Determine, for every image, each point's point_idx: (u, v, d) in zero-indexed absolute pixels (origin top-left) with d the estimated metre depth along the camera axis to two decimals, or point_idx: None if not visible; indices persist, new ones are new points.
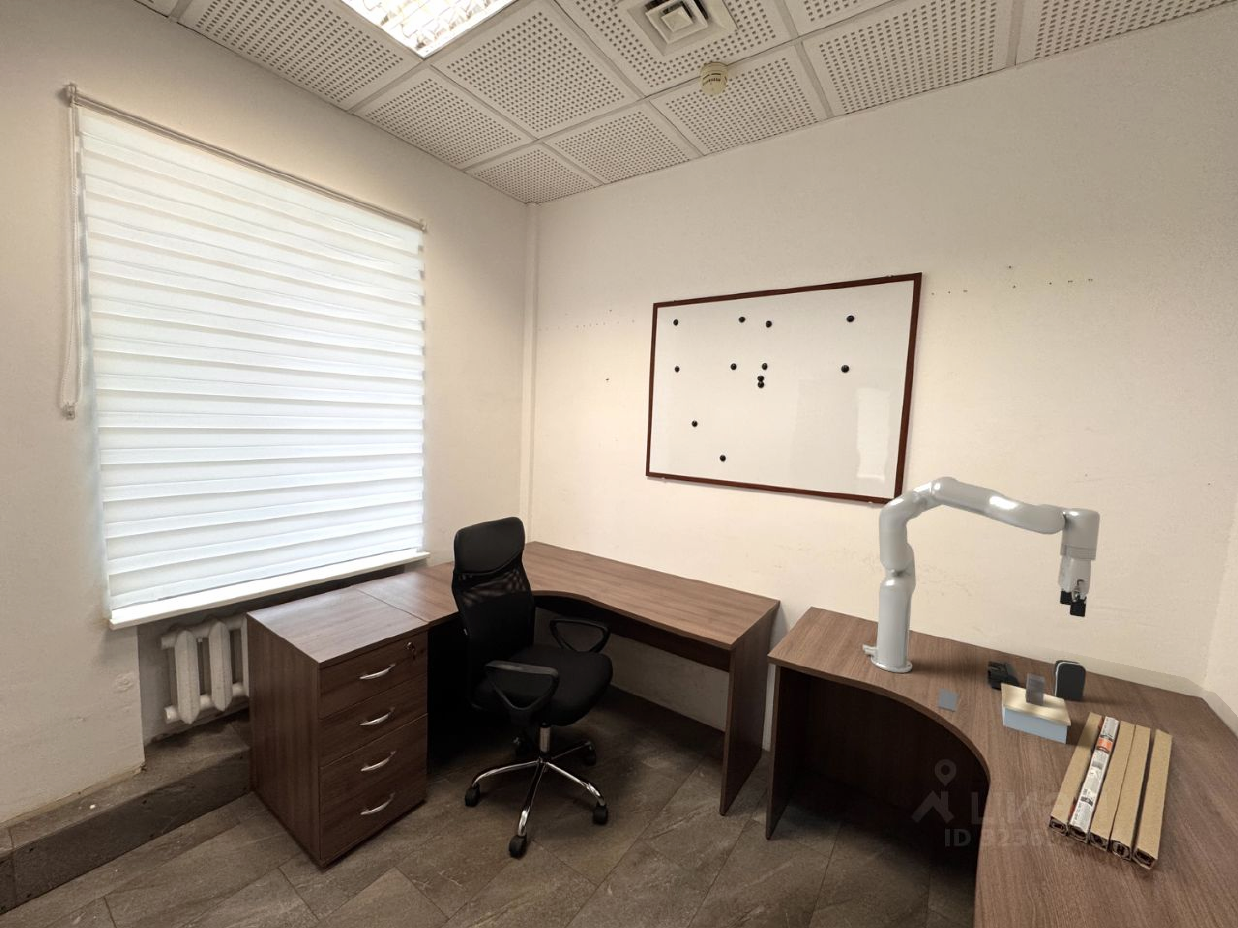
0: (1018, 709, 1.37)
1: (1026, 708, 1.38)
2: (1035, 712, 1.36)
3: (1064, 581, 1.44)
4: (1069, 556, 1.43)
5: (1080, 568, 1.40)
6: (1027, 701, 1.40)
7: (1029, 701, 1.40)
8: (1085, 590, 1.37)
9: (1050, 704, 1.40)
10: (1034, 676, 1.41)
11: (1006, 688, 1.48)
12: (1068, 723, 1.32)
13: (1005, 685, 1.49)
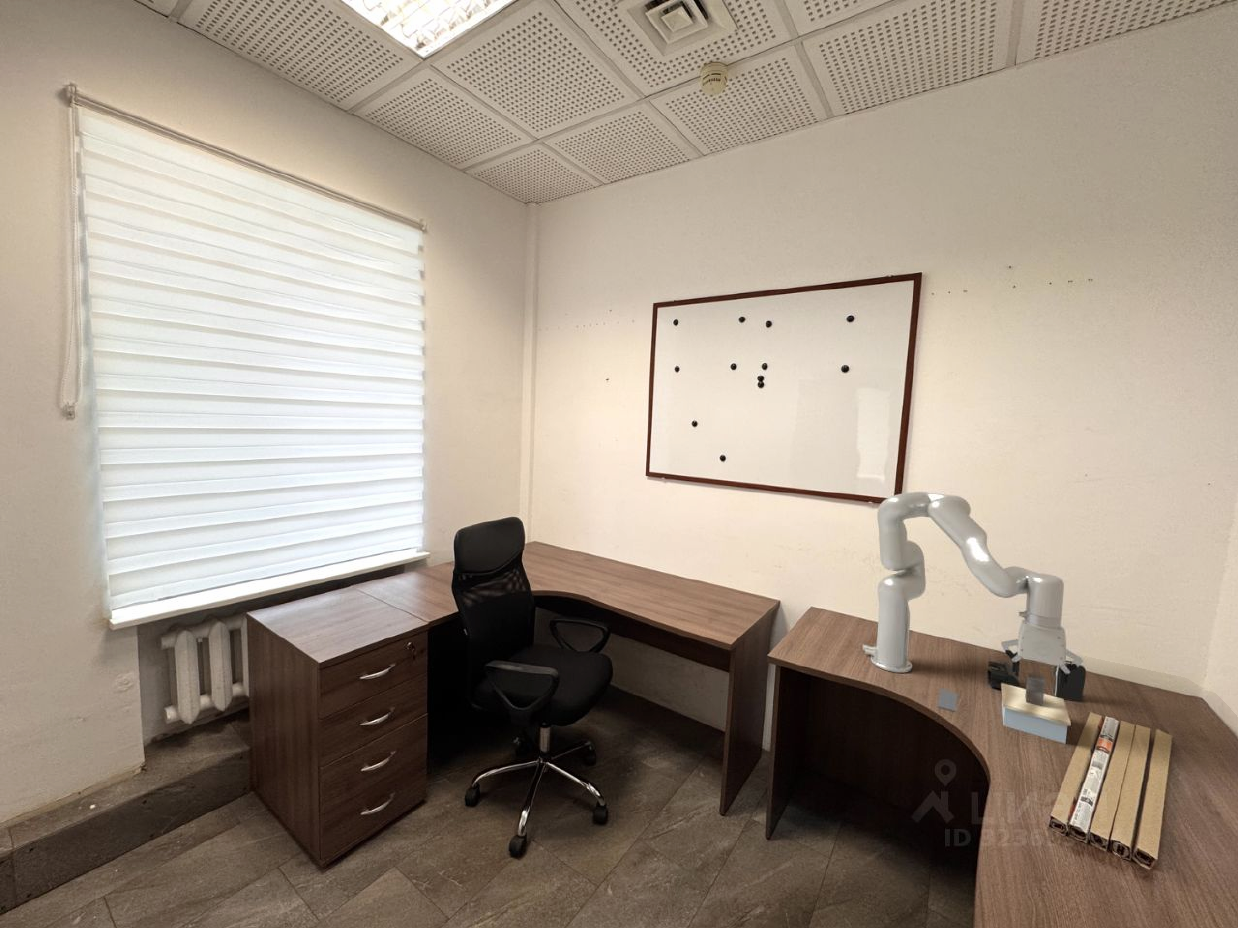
0: (1018, 709, 1.37)
1: (1026, 708, 1.38)
2: (1035, 712, 1.36)
3: (1052, 655, 1.36)
4: (1057, 628, 1.35)
5: None
6: (1027, 701, 1.40)
7: (1029, 701, 1.40)
8: (1081, 658, 1.35)
9: (1050, 704, 1.40)
10: (1034, 676, 1.41)
11: (1006, 688, 1.48)
12: (1068, 723, 1.32)
13: (1005, 685, 1.49)
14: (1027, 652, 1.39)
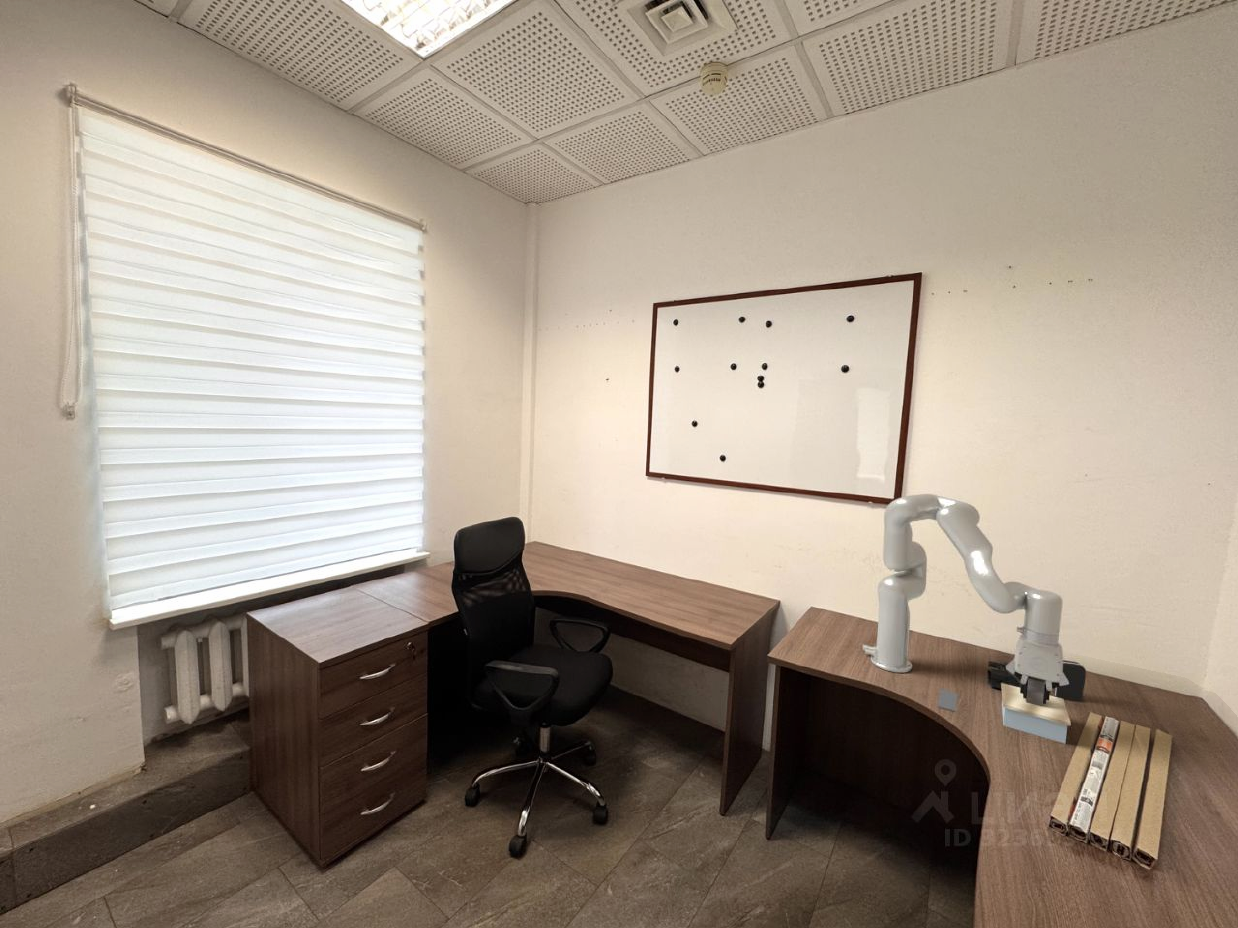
0: (1018, 709, 1.37)
1: (1026, 708, 1.38)
2: (1035, 712, 1.36)
3: (1049, 671, 1.36)
4: (1054, 645, 1.36)
5: None
6: (1027, 701, 1.40)
7: (1029, 701, 1.40)
8: None
9: (1050, 704, 1.40)
10: None
11: (1006, 688, 1.48)
12: (1068, 723, 1.32)
13: (1005, 685, 1.49)
14: (1024, 668, 1.39)
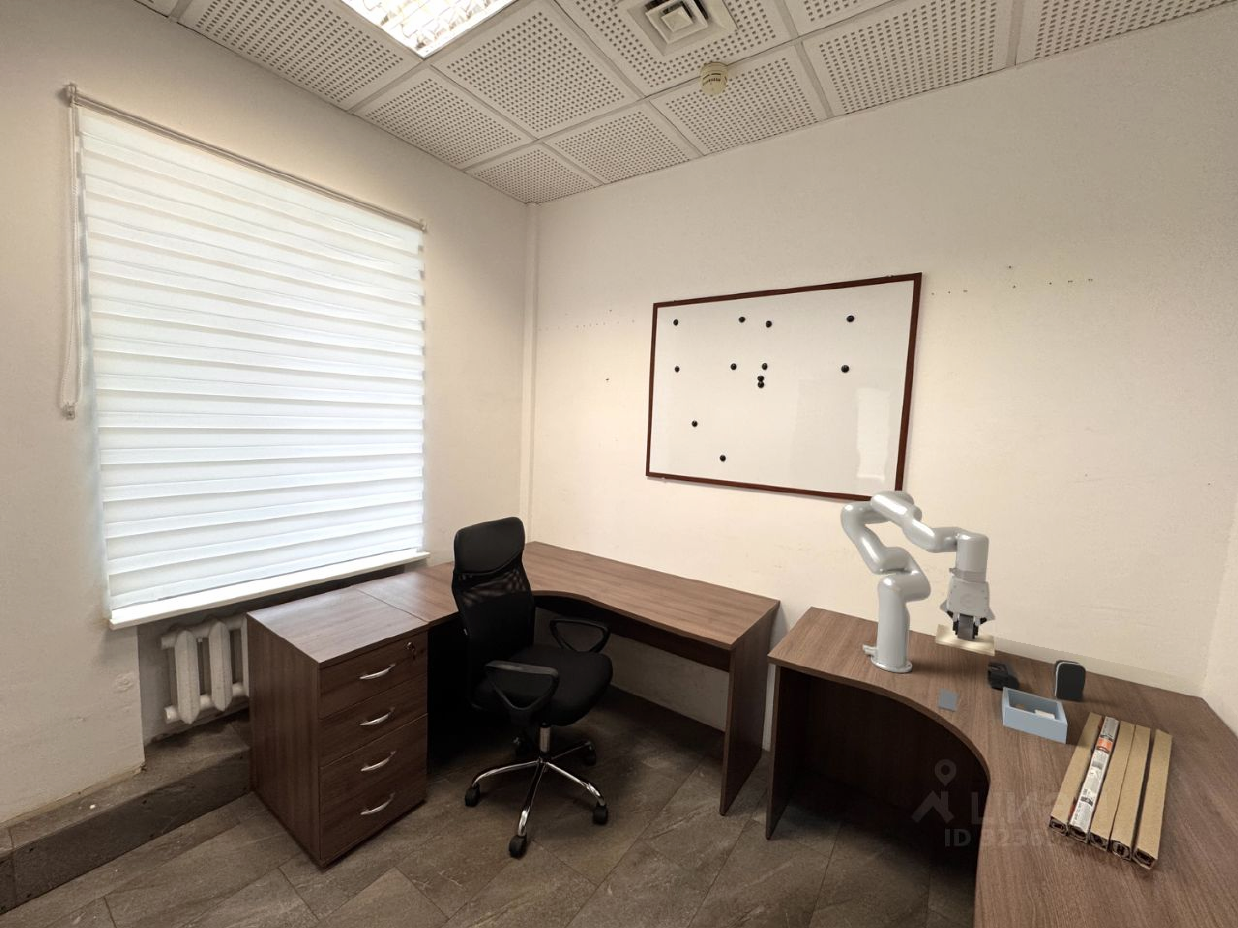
0: (948, 643, 1.46)
1: (956, 642, 1.46)
2: (963, 645, 1.44)
3: (976, 607, 1.45)
4: (981, 582, 1.44)
5: None
6: (958, 637, 1.49)
7: (960, 637, 1.48)
8: (994, 616, 1.45)
9: (979, 640, 1.48)
10: None
11: (941, 628, 1.56)
12: (992, 654, 1.40)
13: (941, 626, 1.58)
14: (954, 605, 1.48)
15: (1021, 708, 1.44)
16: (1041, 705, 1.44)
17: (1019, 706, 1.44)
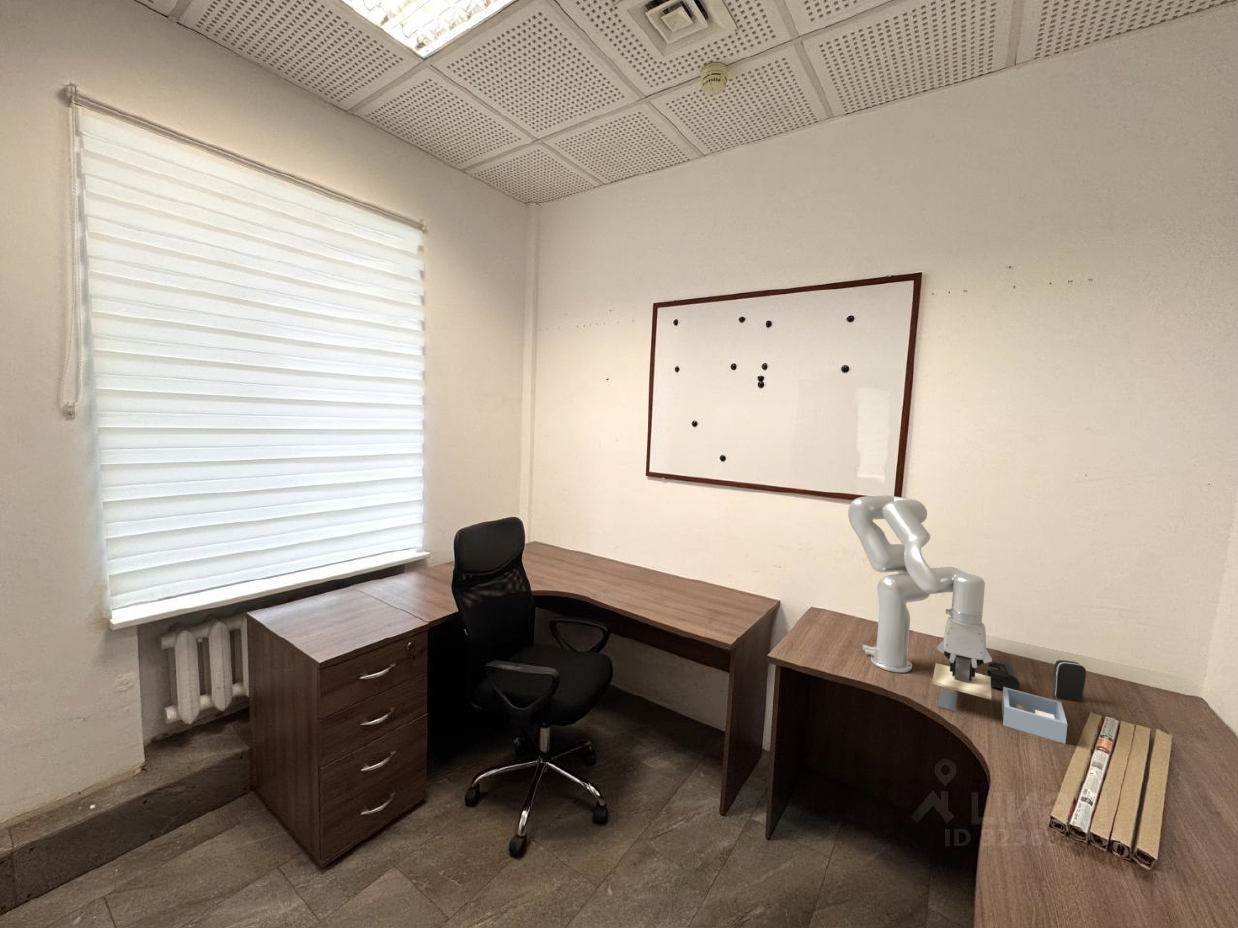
0: (945, 685, 1.47)
1: (953, 684, 1.47)
2: (960, 688, 1.45)
3: (973, 649, 1.46)
4: (977, 624, 1.45)
5: (985, 632, 1.46)
6: (955, 678, 1.50)
7: (957, 678, 1.50)
8: (991, 658, 1.46)
9: (976, 681, 1.49)
10: None
11: (939, 667, 1.57)
12: (989, 697, 1.41)
13: (938, 665, 1.59)
14: (951, 647, 1.49)
15: (1021, 708, 1.44)
16: (1041, 705, 1.44)
17: (1019, 706, 1.44)
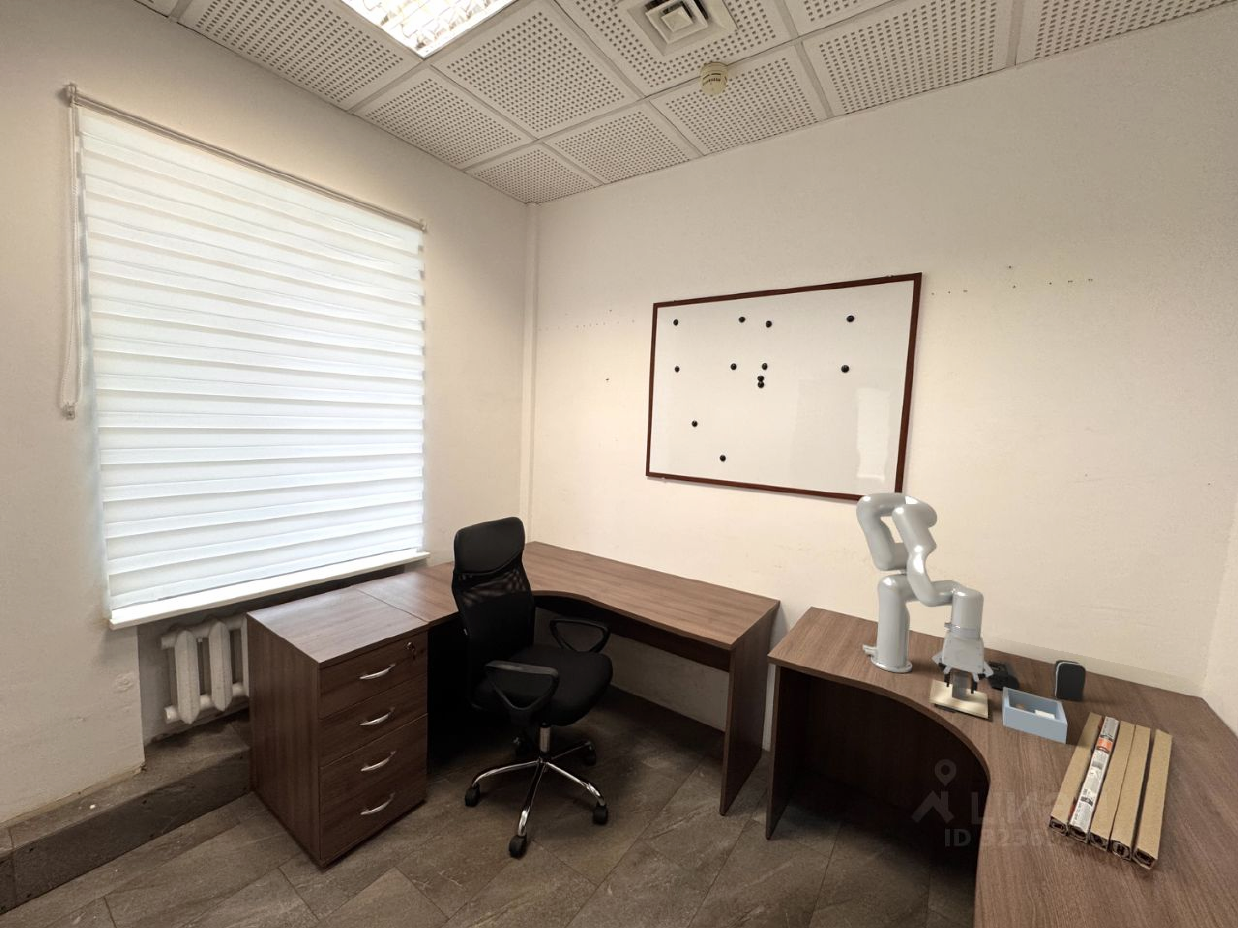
0: (942, 703, 1.48)
1: (950, 702, 1.48)
2: (957, 706, 1.46)
3: (971, 663, 1.47)
4: (976, 639, 1.46)
5: (983, 647, 1.47)
6: (952, 696, 1.51)
7: (954, 696, 1.50)
8: (992, 671, 1.46)
9: (973, 699, 1.50)
10: (959, 673, 1.51)
11: (936, 684, 1.58)
12: (985, 716, 1.42)
13: (936, 681, 1.60)
14: (950, 660, 1.50)
15: (1021, 708, 1.44)
16: (1041, 705, 1.44)
17: (1019, 706, 1.44)
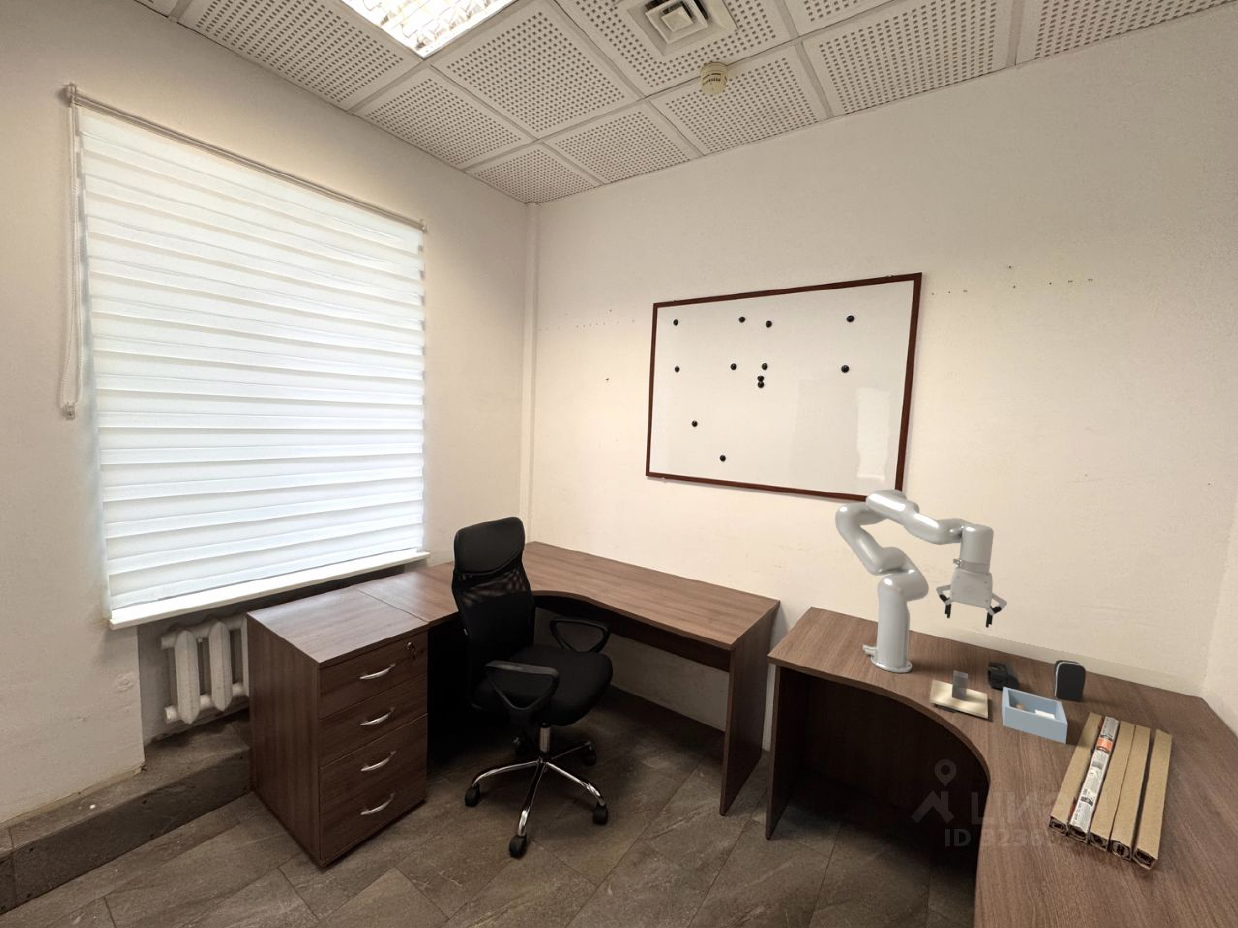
0: (942, 703, 1.48)
1: (950, 702, 1.48)
2: (957, 706, 1.46)
3: (979, 598, 1.47)
4: (984, 573, 1.46)
5: None
6: (952, 696, 1.51)
7: (954, 696, 1.50)
8: (1005, 601, 1.45)
9: (973, 699, 1.50)
10: (959, 673, 1.51)
11: (936, 684, 1.58)
12: (985, 716, 1.42)
13: (936, 681, 1.60)
14: (957, 595, 1.50)
15: (1021, 708, 1.44)
16: (1041, 705, 1.44)
17: (1019, 706, 1.44)
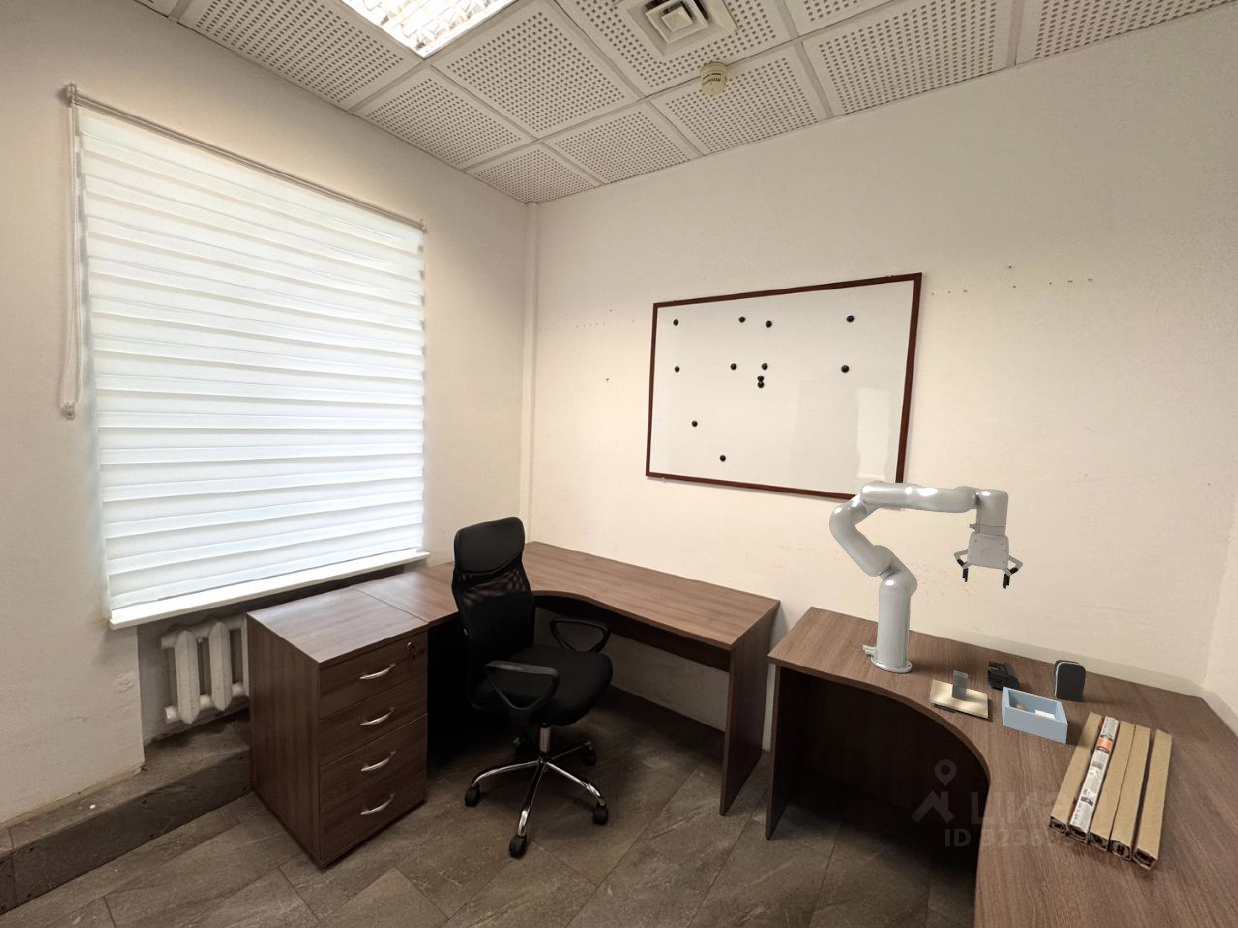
0: (942, 703, 1.48)
1: (950, 702, 1.48)
2: (957, 706, 1.46)
3: (996, 560, 1.52)
4: (1001, 535, 1.51)
5: None
6: (952, 696, 1.51)
7: (954, 696, 1.50)
8: (1021, 562, 1.51)
9: (973, 699, 1.50)
10: (959, 673, 1.51)
11: (936, 684, 1.58)
12: (985, 716, 1.42)
13: (936, 681, 1.60)
14: (975, 559, 1.55)
15: (1021, 708, 1.44)
16: (1041, 705, 1.44)
17: (1019, 706, 1.44)
